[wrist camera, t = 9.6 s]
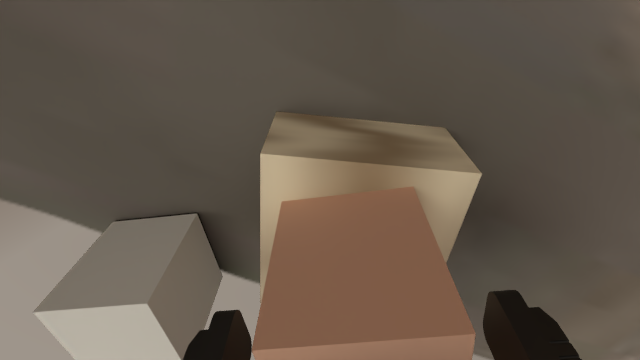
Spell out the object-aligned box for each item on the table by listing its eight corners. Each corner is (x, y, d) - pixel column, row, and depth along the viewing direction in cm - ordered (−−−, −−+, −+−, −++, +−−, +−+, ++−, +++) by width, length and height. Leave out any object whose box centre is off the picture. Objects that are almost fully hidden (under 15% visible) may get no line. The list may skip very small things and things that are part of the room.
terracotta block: (303, 289, 15) (292, 446, 10) (281, 201, 13) (251, 350, 8) (413, 279, 15) (460, 438, 10) (413, 186, 12) (476, 333, 7)
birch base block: (273, 240, 20) (260, 303, 16) (276, 110, 16) (260, 153, 12) (406, 250, 20) (425, 315, 16) (444, 126, 16) (482, 173, 12)
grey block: (147, 282, 21) (91, 378, 16) (112, 221, 19) (32, 312, 14) (222, 276, 21) (188, 372, 16) (197, 213, 18) (147, 303, 13)
